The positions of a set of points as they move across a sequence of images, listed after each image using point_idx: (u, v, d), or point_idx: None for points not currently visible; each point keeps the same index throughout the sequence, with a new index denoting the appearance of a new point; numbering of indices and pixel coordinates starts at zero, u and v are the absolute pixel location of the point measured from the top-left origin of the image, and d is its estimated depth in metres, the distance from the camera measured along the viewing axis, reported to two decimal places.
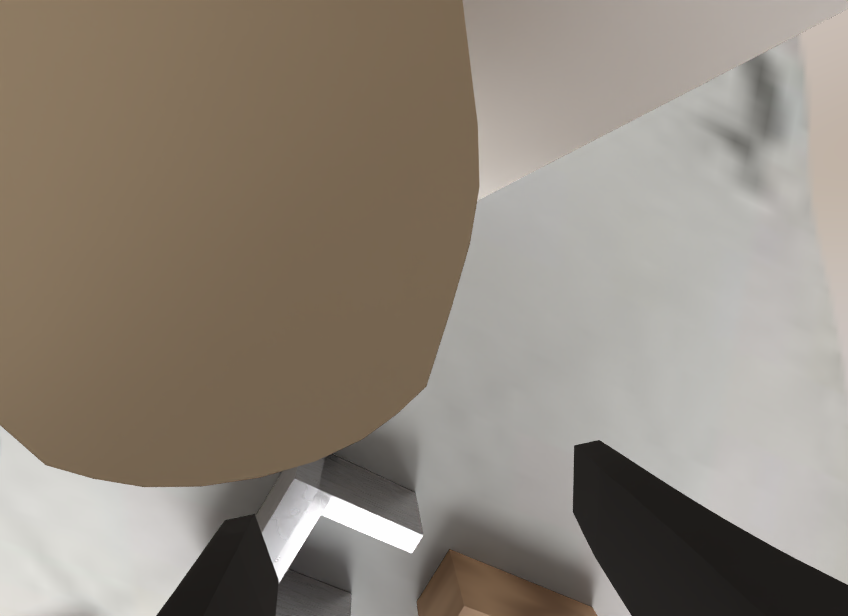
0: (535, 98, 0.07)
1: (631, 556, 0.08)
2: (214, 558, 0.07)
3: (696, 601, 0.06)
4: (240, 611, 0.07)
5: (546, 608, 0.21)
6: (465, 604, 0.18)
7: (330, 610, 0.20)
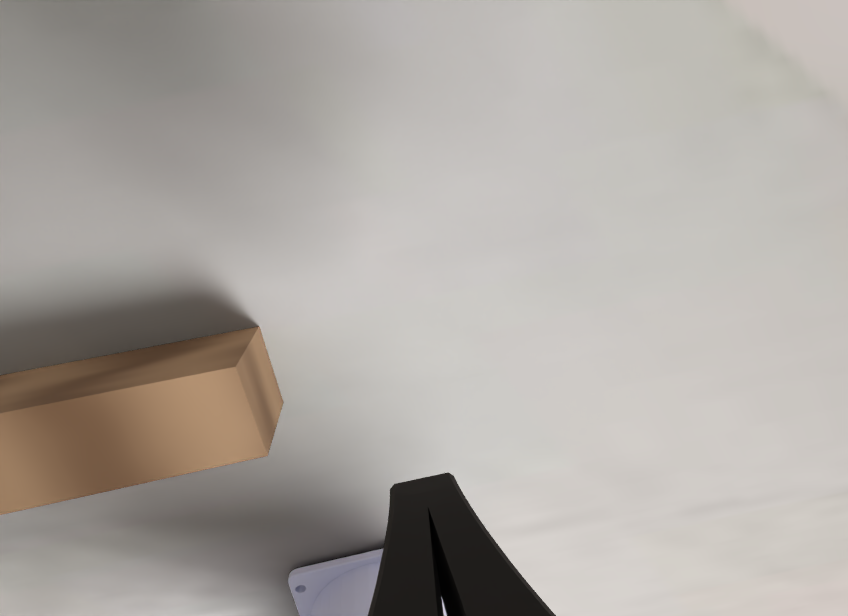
0: None
1: (449, 600, 0.07)
2: (409, 514, 0.07)
3: None
4: (435, 564, 0.07)
5: (126, 366, 0.14)
6: None
7: None
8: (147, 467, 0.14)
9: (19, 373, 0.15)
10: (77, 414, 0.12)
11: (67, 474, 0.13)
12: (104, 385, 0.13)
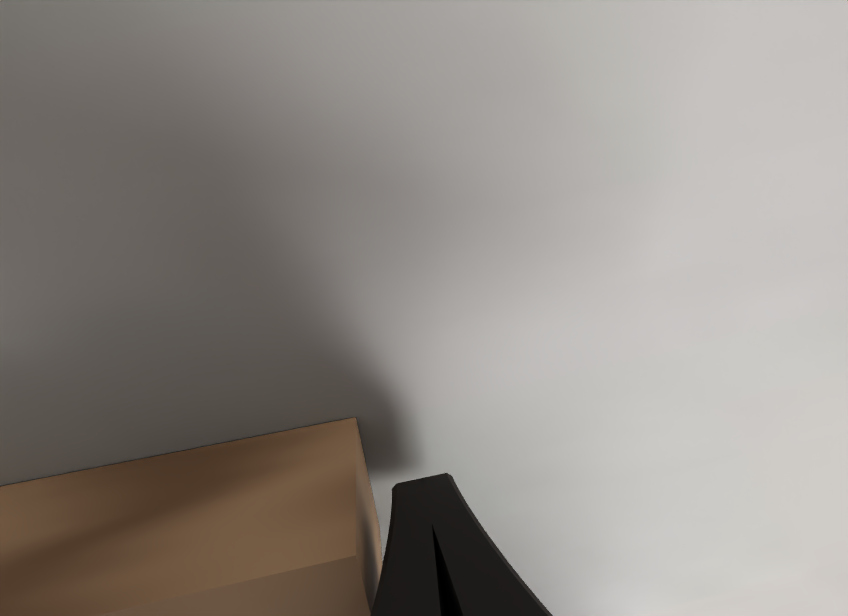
0: None
1: (447, 601, 0.07)
2: (411, 514, 0.07)
3: None
4: (437, 564, 0.07)
5: (128, 517, 0.07)
6: None
7: None
8: None
9: None
10: None
11: None
12: (83, 585, 0.06)
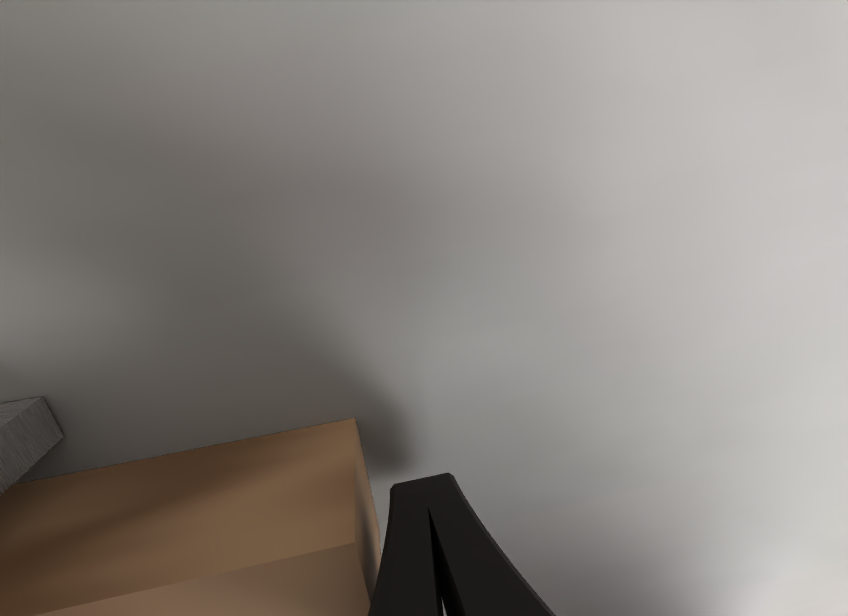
0: None
1: (449, 601, 0.07)
2: (409, 514, 0.07)
3: None
4: (435, 564, 0.07)
5: (135, 507, 0.08)
6: None
7: None
8: None
9: None
10: None
11: None
12: (93, 571, 0.07)
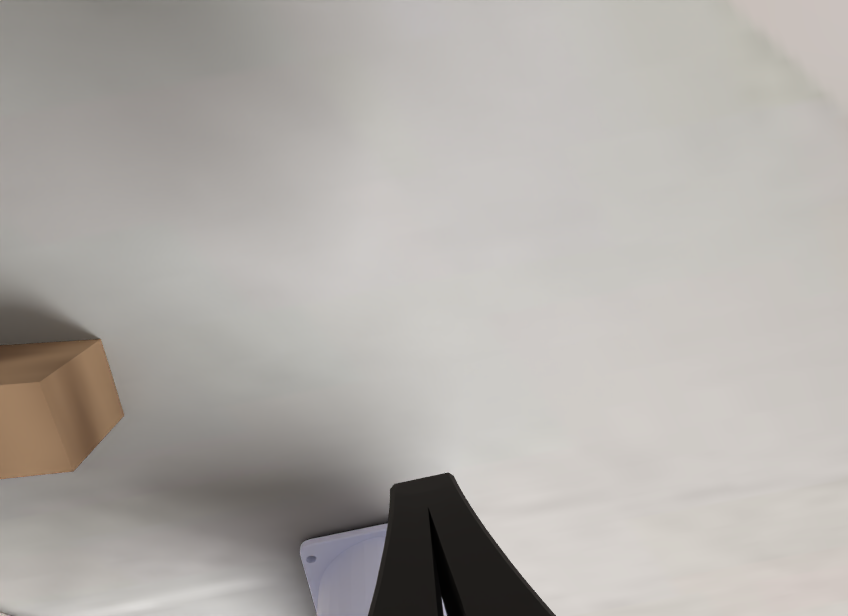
0: None
1: (449, 601, 0.07)
2: (409, 514, 0.07)
3: None
4: (435, 565, 0.07)
5: None
6: None
7: None
8: None
9: None
10: None
11: None
12: None
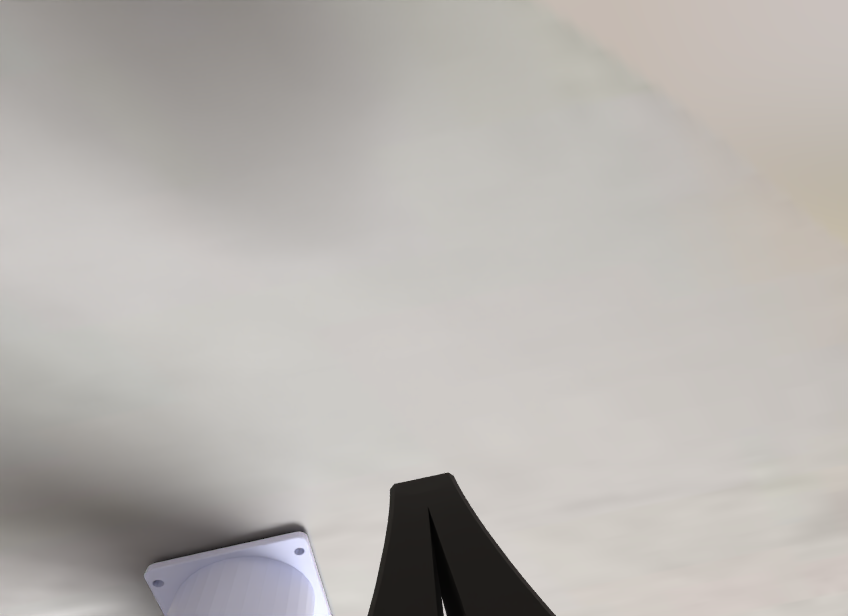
0: None
1: (449, 601, 0.07)
2: (409, 514, 0.07)
3: None
4: (435, 564, 0.07)
5: None
6: None
7: None
8: None
9: None
10: None
11: None
12: None
